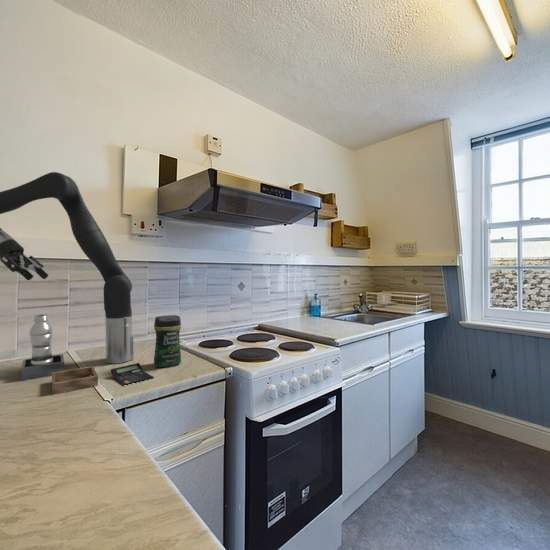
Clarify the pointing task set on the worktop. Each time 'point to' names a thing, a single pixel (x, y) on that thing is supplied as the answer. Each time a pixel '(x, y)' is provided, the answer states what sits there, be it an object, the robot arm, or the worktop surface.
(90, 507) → the worktop surface
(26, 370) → the gray square tray
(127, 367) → the calculator
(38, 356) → the silver metal bottle
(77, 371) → the wooden square tray
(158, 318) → the coffee jar
